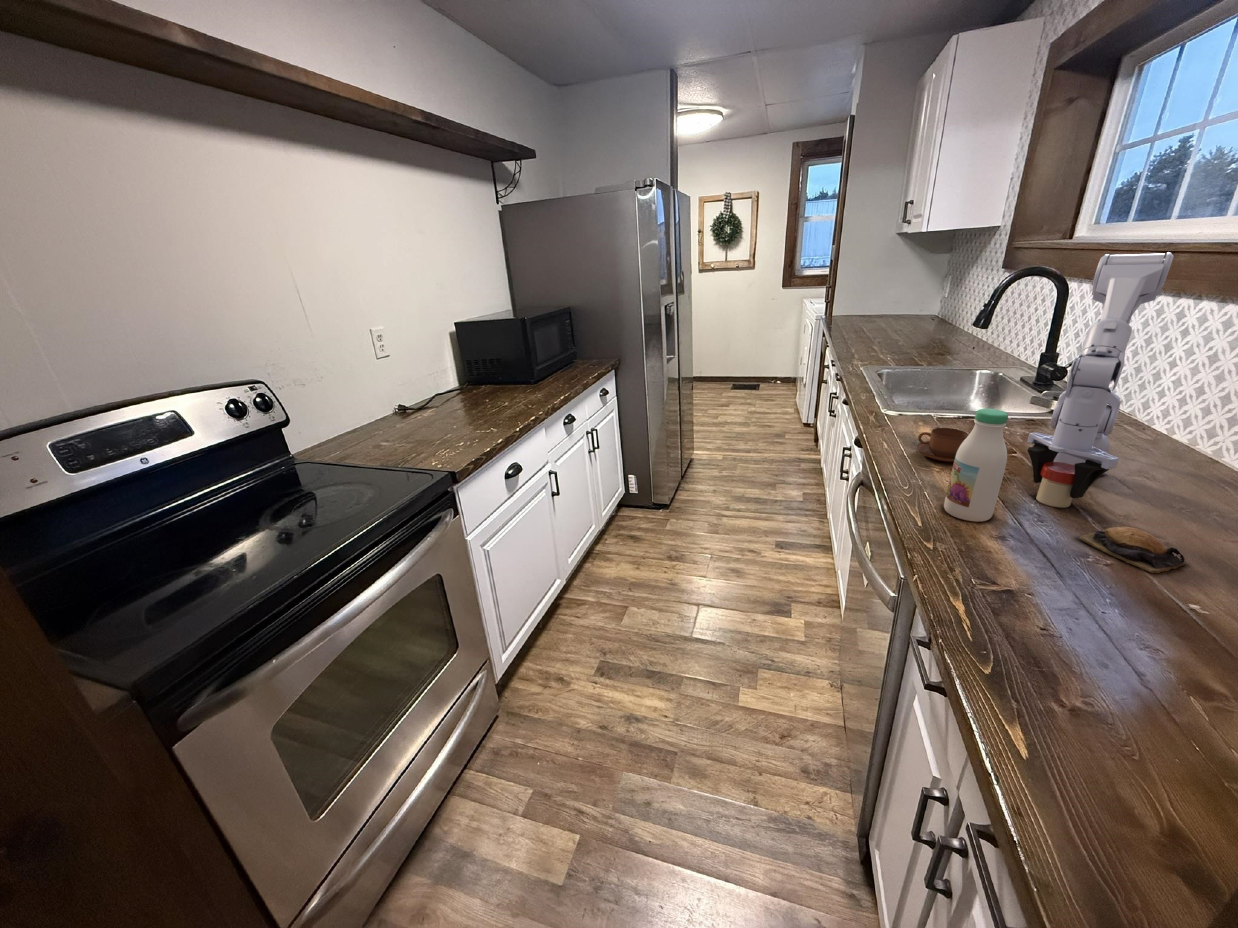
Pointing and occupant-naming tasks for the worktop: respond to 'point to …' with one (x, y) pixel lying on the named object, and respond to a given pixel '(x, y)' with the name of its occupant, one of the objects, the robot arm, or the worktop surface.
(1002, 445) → the milk bottle
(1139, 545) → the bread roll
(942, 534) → the worktop surface
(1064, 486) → the honey jar
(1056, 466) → the honey lid
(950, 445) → the cup and saucer
